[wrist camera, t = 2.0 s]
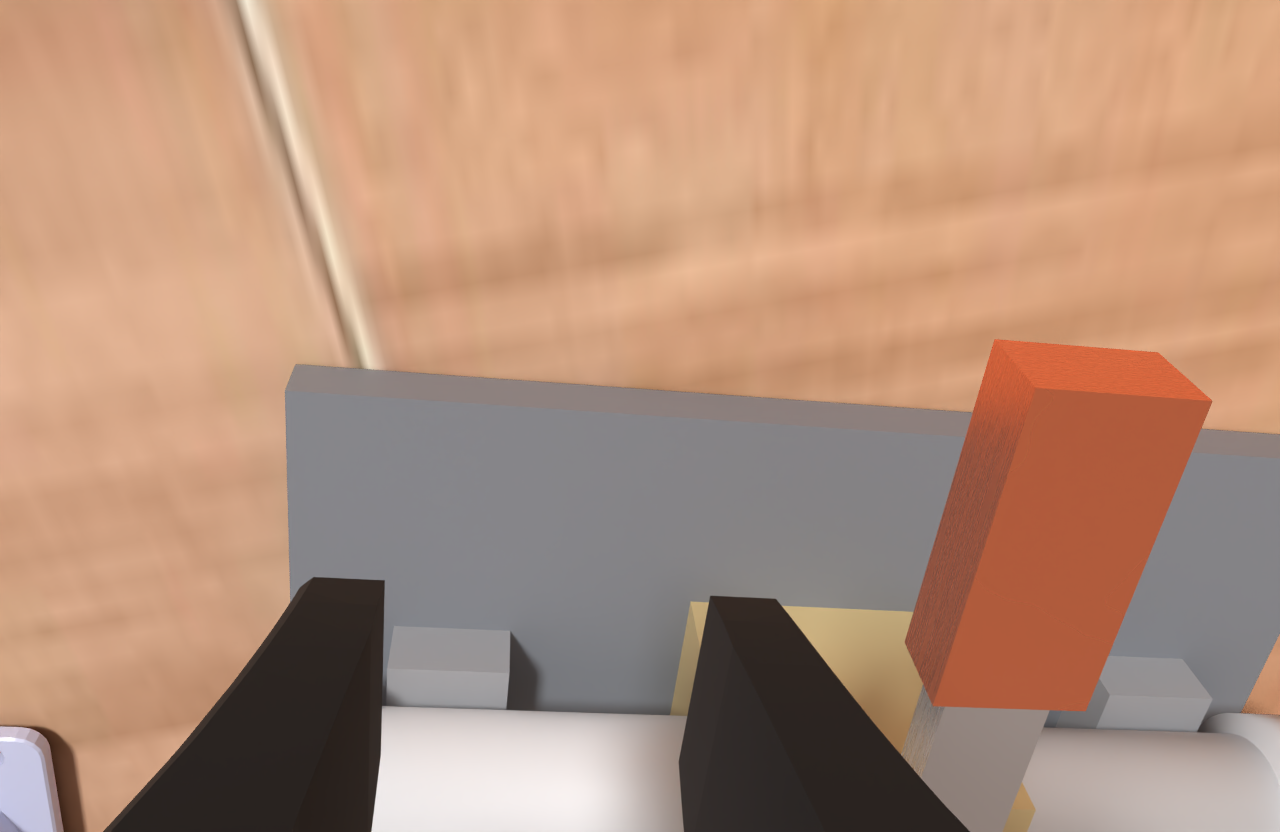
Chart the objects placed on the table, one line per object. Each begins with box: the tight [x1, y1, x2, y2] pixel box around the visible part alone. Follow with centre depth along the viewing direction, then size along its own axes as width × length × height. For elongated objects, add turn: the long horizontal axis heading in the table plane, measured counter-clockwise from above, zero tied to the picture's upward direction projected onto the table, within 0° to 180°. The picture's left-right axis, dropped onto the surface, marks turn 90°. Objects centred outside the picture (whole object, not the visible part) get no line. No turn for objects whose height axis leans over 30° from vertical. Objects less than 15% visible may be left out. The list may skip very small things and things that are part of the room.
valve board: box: [285, 364, 1280, 832], centre depth 21 cm, size 20×12×7 cm, turn 83°
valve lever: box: [901, 339, 1212, 832], centre depth 15 cm, size 12×2×1 cm, turn 173°
